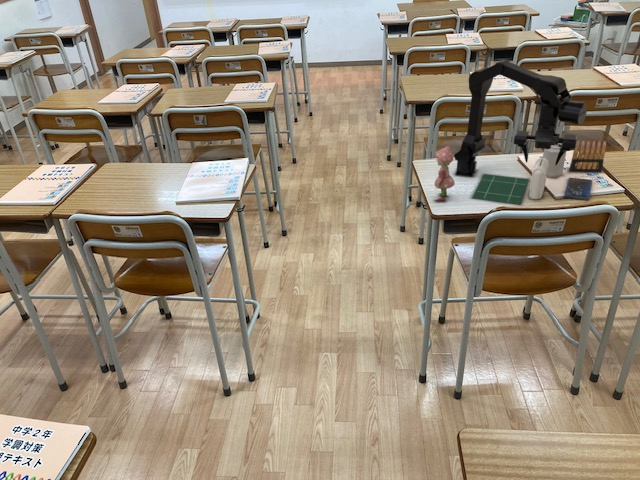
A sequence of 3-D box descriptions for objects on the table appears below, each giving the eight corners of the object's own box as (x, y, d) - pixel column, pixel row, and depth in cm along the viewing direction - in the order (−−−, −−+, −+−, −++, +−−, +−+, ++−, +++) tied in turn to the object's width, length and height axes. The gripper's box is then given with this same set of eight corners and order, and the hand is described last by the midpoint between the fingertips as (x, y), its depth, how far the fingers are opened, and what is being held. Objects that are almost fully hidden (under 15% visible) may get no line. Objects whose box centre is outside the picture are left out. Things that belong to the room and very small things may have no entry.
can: (564, 178, 177) (569, 147, 171) (542, 178, 179) (547, 147, 173) (559, 169, 183) (565, 139, 177) (538, 169, 185) (543, 140, 179)
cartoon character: (450, 206, 168) (453, 152, 157) (429, 203, 171) (431, 150, 160) (456, 193, 176) (459, 141, 165) (437, 191, 178) (439, 139, 168)
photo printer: (532, 186, 175) (537, 154, 168) (545, 187, 173) (550, 155, 166) (527, 198, 167) (532, 166, 161) (540, 200, 166) (546, 167, 159)
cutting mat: (472, 198, 172) (472, 197, 171) (483, 174, 186) (483, 173, 186) (519, 204, 165) (520, 203, 164) (528, 179, 179) (528, 178, 179)
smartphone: (592, 179, 172) (589, 198, 162) (591, 181, 173) (588, 200, 162) (568, 177, 176) (564, 195, 165) (568, 179, 176) (563, 197, 166)
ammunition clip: (600, 170, 180) (607, 139, 173) (601, 172, 178) (608, 141, 172) (568, 169, 183) (574, 139, 176) (569, 171, 181) (575, 141, 175)
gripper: (513, 125, 154) (508, 170, 162) (579, 129, 146) (569, 176, 154) (519, 113, 162) (513, 157, 170) (581, 117, 154) (572, 162, 162)
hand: (541, 163), depth 164 cm, fingers open, 9 cm apart
